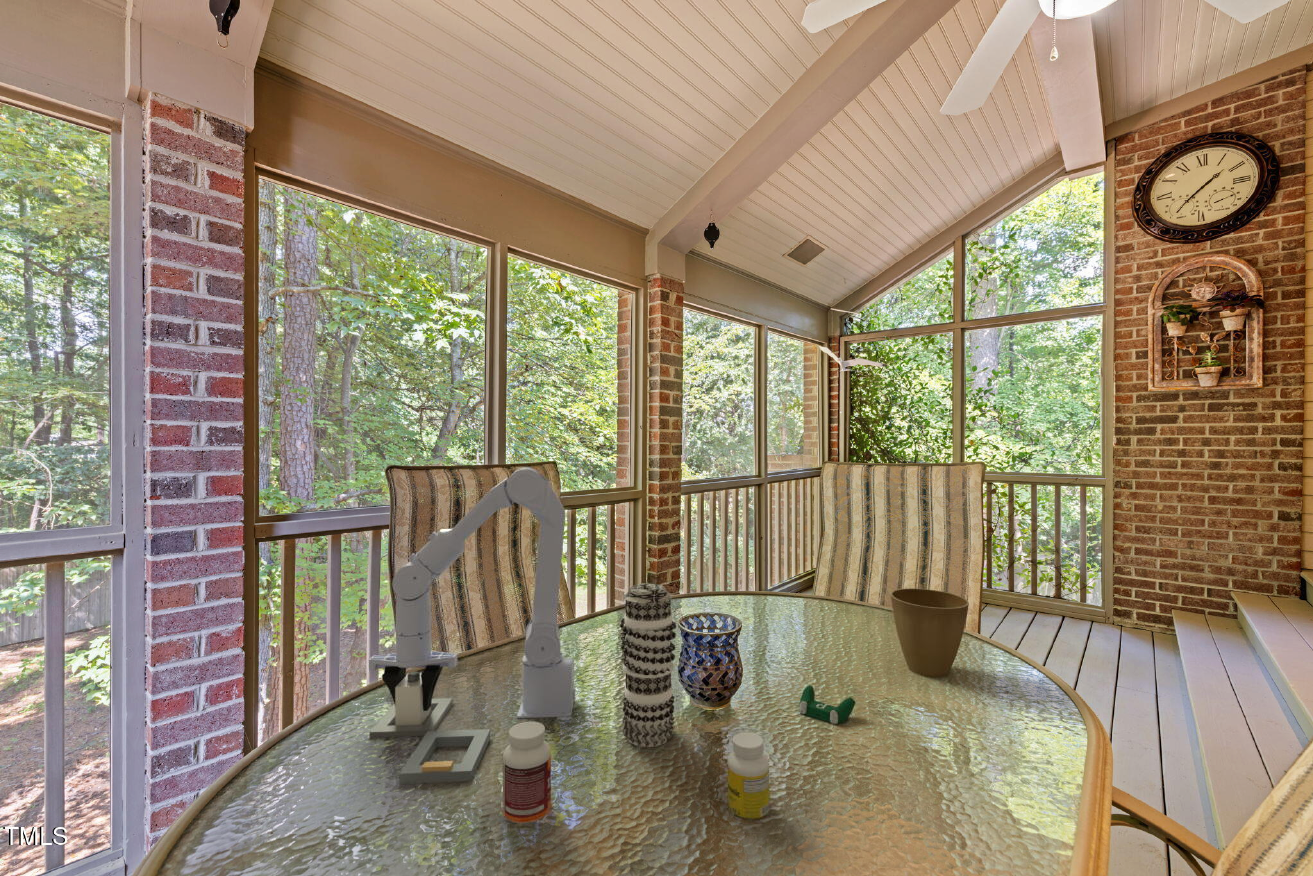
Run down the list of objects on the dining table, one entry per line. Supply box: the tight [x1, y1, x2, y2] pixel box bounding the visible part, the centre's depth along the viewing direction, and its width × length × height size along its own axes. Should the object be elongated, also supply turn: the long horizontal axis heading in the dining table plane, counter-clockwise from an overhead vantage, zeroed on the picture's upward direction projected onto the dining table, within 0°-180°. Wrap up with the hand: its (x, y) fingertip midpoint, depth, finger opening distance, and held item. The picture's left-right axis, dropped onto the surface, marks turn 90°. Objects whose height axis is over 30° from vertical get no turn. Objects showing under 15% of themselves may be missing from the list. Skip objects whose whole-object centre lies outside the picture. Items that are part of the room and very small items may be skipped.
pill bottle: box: [502, 721, 552, 824], centre depth 76 cm, size 6×6×11 cm
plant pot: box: [890, 587, 970, 678], centre depth 122 cm, size 15×15×16 cm
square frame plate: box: [369, 697, 454, 739], centre depth 102 cm, size 10×12×1 cm
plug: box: [394, 671, 432, 726], centre depth 102 cm, size 4×6×8 cm, turn 3°
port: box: [398, 728, 491, 785], centre depth 88 cm, size 10×12×3 cm
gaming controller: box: [798, 685, 856, 726], centre depth 102 cm, size 9×4×6 cm
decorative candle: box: [619, 582, 677, 748], centre depth 95 cm, size 9×9×25 cm
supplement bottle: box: [727, 731, 771, 821], centre depth 76 cm, size 5×5×10 cm
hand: (413, 708), depth 102 cm, fingers closed on plug, 4 cm apart
